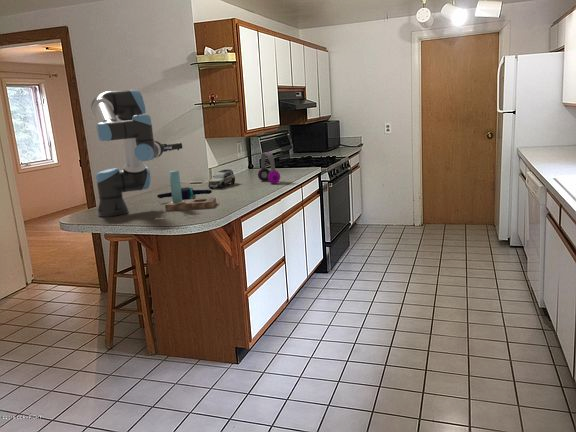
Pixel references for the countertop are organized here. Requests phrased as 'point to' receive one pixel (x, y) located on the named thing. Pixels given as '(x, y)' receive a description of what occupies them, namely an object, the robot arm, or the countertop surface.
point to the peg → (175, 186)
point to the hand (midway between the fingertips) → (165, 145)
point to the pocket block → (191, 204)
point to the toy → (186, 193)
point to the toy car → (222, 179)
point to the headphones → (265, 173)
